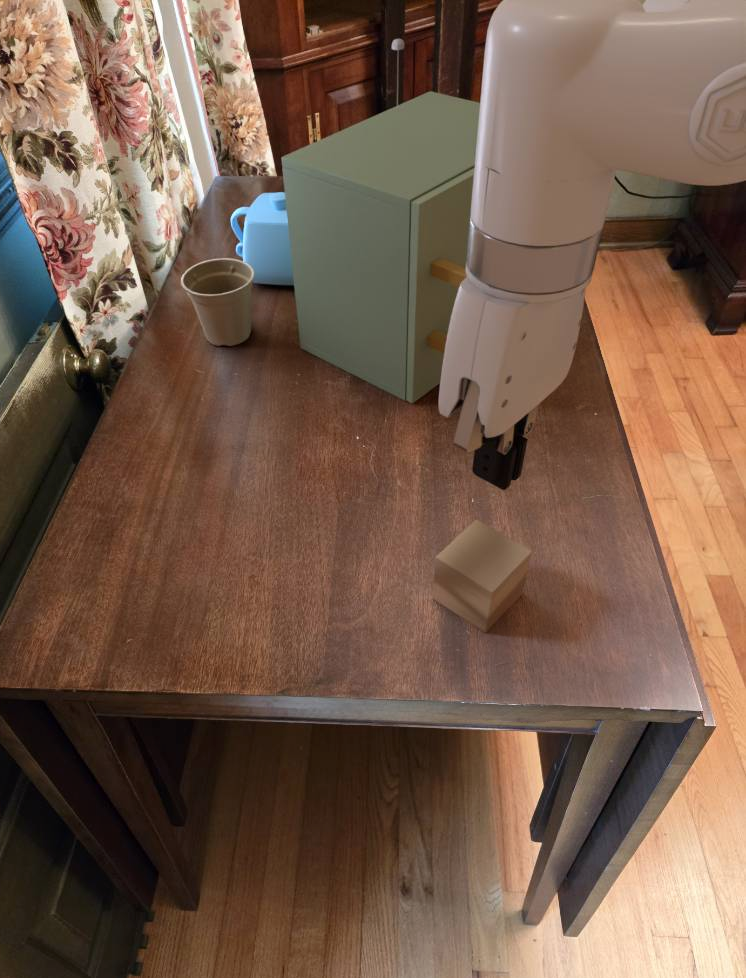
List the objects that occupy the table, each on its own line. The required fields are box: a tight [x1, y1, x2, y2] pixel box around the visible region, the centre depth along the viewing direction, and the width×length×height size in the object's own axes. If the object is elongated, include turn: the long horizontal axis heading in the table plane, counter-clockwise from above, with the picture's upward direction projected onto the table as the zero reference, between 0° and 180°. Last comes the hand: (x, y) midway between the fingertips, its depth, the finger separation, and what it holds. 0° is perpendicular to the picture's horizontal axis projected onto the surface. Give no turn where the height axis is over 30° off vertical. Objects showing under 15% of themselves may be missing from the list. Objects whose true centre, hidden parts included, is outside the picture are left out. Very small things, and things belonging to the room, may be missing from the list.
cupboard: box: [281, 91, 480, 402], centre depth 89 cm, size 18×26×24 cm
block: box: [432, 519, 533, 634], centre depth 65 cm, size 6×6×6 cm
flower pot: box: [180, 257, 254, 347], centre depth 96 cm, size 9×9×9 cm
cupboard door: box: [406, 168, 474, 404], centre depth 83 cm, size 6×26×24 cm, turn 137°
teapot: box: [230, 191, 294, 286], centre depth 106 cm, size 12×18×12 cm
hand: (495, 475), depth 56 cm, fingers closed
